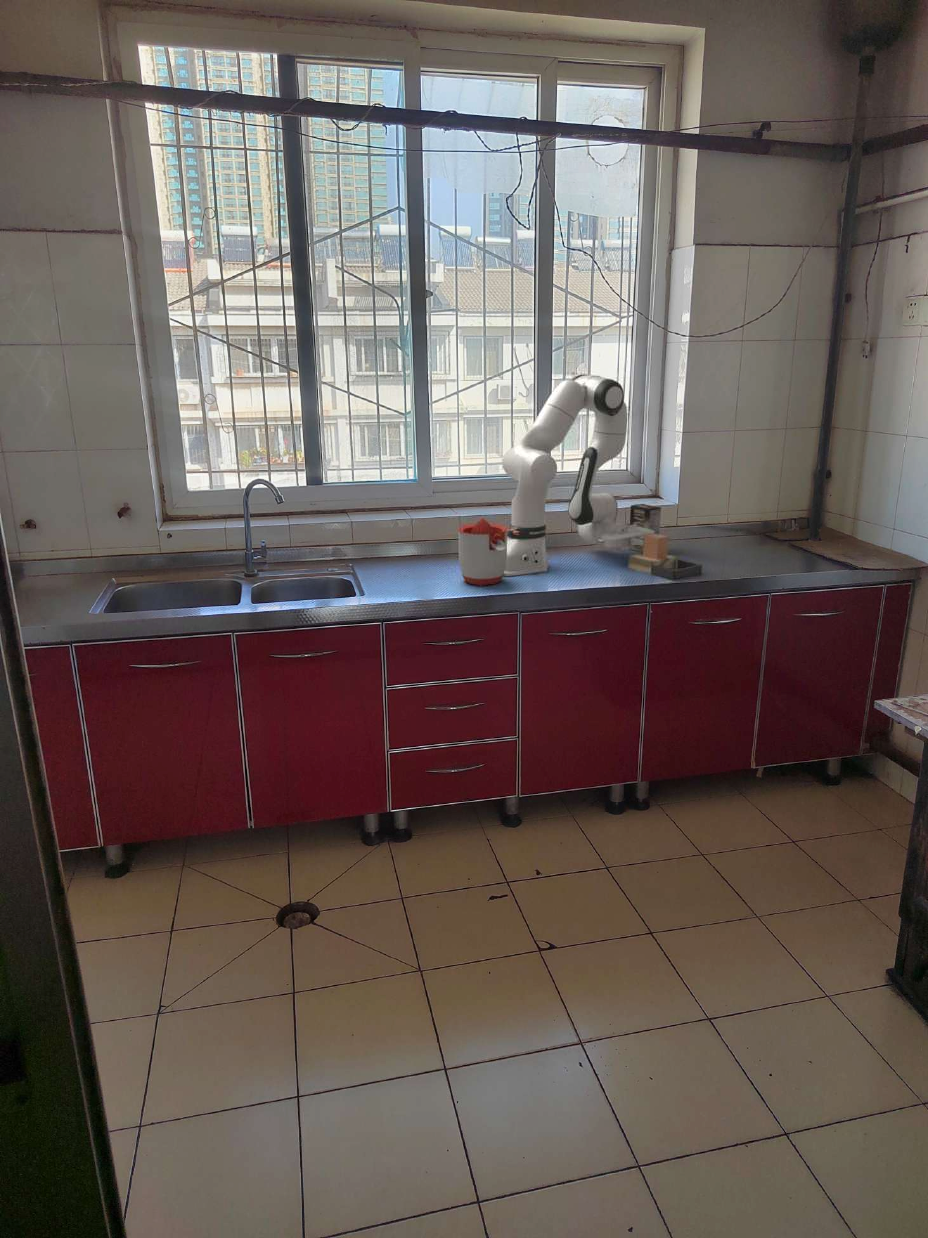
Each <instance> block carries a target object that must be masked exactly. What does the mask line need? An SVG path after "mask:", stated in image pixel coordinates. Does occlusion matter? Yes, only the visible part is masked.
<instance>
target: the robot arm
mask: <svg viewBox="0 0 928 1238" xmlns="http://www.w3.org/2000/svg"><path fill="white" fill-rule="evenodd" d="M624 394H625V393H624V389H623V387H622V385H621V383H619V382H618V381H616V380H614V379H612V378H606V377H603V376H600V375H592V374H585V373H584V374H578V375H576V376H574V377H572V378H571V379H564V380H562V381H561V382H560V383H559V384H558V385H557V386H556V388H555V389H554V390H553V391H552V392H551V394H550V395H549V397H548V398H547V400H546V402H545V403H544V404H543V406H542V408H541V410H540V411H539V414H538V415H537V417H536V419H535V420H534V422H533V423H532V425H531V426H530V428H529V429H528V430H527V431H526V433H525V434H524V435H523V436H522V437H521V438H520V439H519V440H518V441H517V442H516V444H515V445H514V446H513V447H512V448H510V449H508V450H507V451H506V452H505V453H504V454H503V457H502V459H501V460H502V461H501V465H502V469H503V470H504V473H506V474H507V475H508V477H510V478H512V479H513V480H515V481H518V484H517V489H516V493H515V496H514V497H513V498H512V500H511V516H510V517H511V522H510V523H511V524H510V525H509V527H508V530H507V561H506V567H505V571H504V575H503V577H505V576H506V577H512V576H519V575H529V574H535V573H543V572H547V571H548V568H549V567H550V564H549V562H548V557H547V556H548V555H547V549H546V536H547V525H546V502H547V496H548V492H549V489H550V485H551V483H552V481H554V479H555V478H556V477H557V473H558V466H557V465H558V464H557V462H556V460H555V458H553V456H552V455H550V453H551V452H552V451H553V450H554V449H555V448H557V447H559V445H560V446H561V444H562V443H563V441H564V440H565V438H566V436H567V435H568V433H569V431H570V430H571V427H572V426H573V425H574V423H575V421H576V419H577V417H578V416H579V413H580V411H581V410H583V409H586V410H588V411H590V412H593V413H594V416H595V420H594V426H593V433H592V437H591V440H590V443H589V445H588V447H587V448H586V450H585V451H584V453H583V455H582V457H581V461H580V465H579V469H578V472H577V478H576V480H575V484H574V485H575V486H574V490H573V493H572V496H571V498H570V500H569V502H568V507H567V512H568V515H569V517H570V519H571V521H573V523H575V524H576V525H577V531H578V534H579V537H581V539H583V540H585V541H586V542H589V543H591V544H593V545H594V544H595V545H598V546H599V545H600V546H602V547H604V548H608V549H611V550H620V549H623V548H627V547H628V548H629V546H633V545H641V546H643V545H644V535H649V534H655V532H654V531H653V530H650V529H647V528H643V527H637V525H636V524H630V523H621V522H616V520H617V514H618V506H619V505H618V502H617V499H616V498H615V496H614V495H613V494H612V493H610V492H601V493H599V492H598V493H594V494H593V493H592V491H593V487H594V482H595V480H596V479H595V478H596V474H597V473H598V471H599V469H601V467H602V466H603V465H605V464H606V463H608V462H609V461H611V460H613V459H615V458H616V457H618V456H619V455H620V454H621V453H622V451H623V449H624V448H625V445H626V437H627V429H628V407H627V404H626V402H625V395H624Z"/></svg>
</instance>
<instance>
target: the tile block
mask: <svg viewBox="0 0 928 1238" xmlns="http://www.w3.org/2000/svg"><path fill="white" fill-rule="evenodd" d="M669 540H670V539H669V536H668V535H664V534H660V533H659V534H649V535H644V546H643V552H642V553H643V556H644V557H648V558H652V559H656V560H658V559H663V558H667V554H668V553H669V551H668V550H669ZM668 555H669V554H668Z"/></svg>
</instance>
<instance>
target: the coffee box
mask: <svg viewBox="0 0 928 1238" xmlns="http://www.w3.org/2000/svg"><path fill="white" fill-rule="evenodd" d="M661 511H662V507H661V506H655V505H650V504H644V503H640V504H639V503H638V504H632V505H630V513H629V524H636V525H637V527H643V528H647V529H650V530H653V531H654V532H655V534H659V535H660V527H661V515H662V513H661ZM643 546H644V545H643ZM643 546H641V545H633V546H628V550H632V551H635V552H640V553H643Z"/></svg>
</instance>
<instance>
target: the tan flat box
mask: <svg viewBox="0 0 928 1238" xmlns="http://www.w3.org/2000/svg"><path fill="white" fill-rule="evenodd" d="M677 563H678V556H676V555H673V554H667V558H663V559H658V560H656V559H652V558H648V557H644V556H643V552H641V553H637V554H632V555H628V564H627V569H631V570H634V569H635V570H634V571H638V572H641V571H642V573H646V574H648V575H651V565H655V566H658V567H662V568H666V569H670V568H675V567H677Z"/></svg>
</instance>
